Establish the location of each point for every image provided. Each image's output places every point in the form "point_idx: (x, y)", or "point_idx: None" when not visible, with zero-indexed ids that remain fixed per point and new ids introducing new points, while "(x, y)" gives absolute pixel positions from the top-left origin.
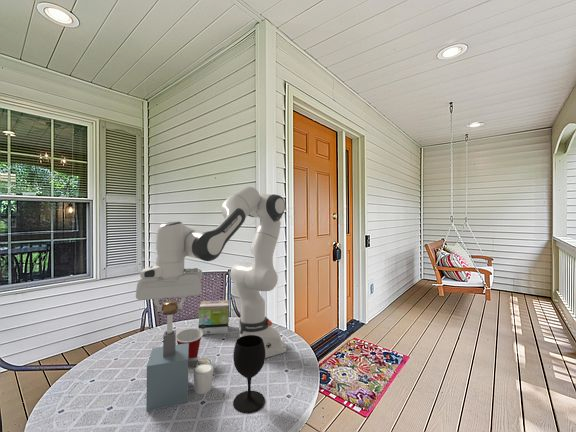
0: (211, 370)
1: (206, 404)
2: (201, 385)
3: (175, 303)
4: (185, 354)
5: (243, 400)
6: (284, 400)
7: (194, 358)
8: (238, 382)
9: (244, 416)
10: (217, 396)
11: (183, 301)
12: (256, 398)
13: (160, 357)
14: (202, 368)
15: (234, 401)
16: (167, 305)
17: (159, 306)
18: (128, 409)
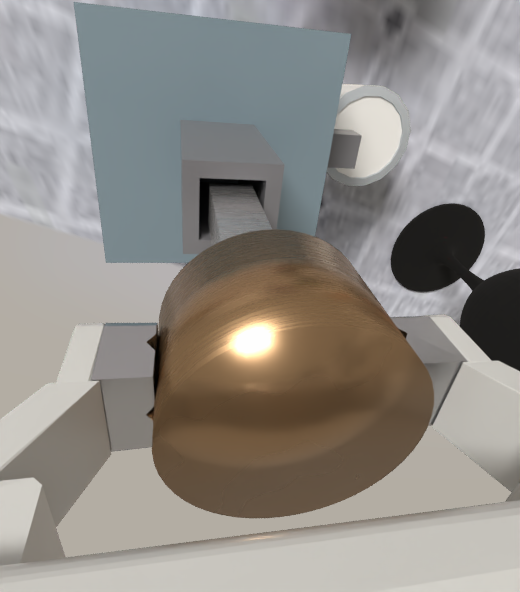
0: (391, 169)
1: (323, 217)
2: None
3: (378, 471)
4: (305, 205)
5: (424, 255)
6: None
7: (344, 144)
8: (460, 136)
9: (399, 295)
10: (366, 190)
11: (507, 470)
12: (459, 256)
13: (165, 190)
14: (361, 134)
15: (401, 242)
16: (252, 516)
17: (108, 437)
18: (54, 145)
